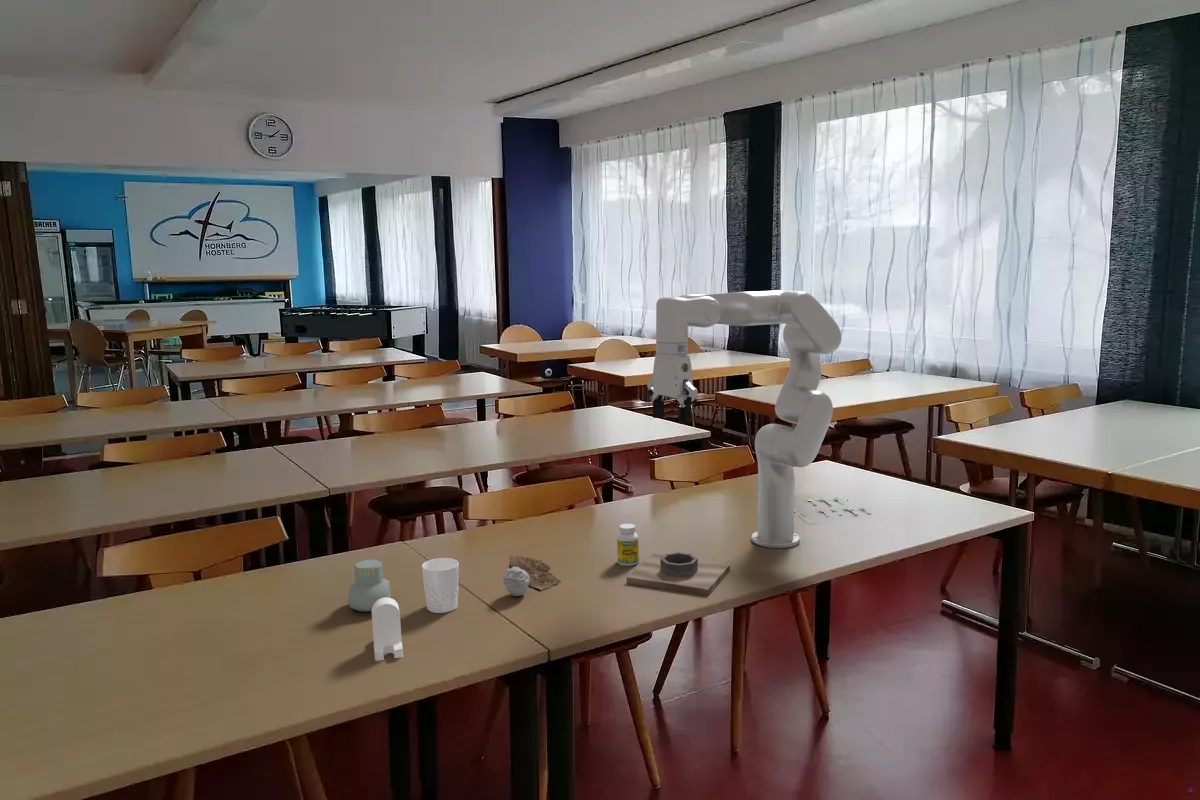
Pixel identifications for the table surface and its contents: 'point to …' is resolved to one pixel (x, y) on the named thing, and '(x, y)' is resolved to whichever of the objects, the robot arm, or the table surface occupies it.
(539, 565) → the wooden fragment
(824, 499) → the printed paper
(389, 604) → the white phone stand
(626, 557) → the supplement bottle
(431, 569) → the white cup
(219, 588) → the table surface
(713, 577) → the holder
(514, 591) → the crumpled paper ball
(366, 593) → the air freshener
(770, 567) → the table surface
